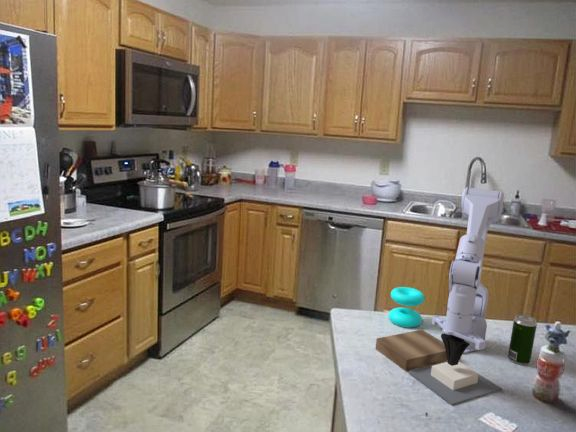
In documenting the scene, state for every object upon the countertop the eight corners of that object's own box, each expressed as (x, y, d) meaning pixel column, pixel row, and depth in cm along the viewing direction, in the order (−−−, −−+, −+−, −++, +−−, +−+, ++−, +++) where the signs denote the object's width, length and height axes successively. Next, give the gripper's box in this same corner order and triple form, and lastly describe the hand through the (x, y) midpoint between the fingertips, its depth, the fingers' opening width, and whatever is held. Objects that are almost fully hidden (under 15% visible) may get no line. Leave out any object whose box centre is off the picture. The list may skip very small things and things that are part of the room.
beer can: (522, 368, 118) (530, 324, 115) (503, 358, 122) (510, 316, 120) (534, 363, 121) (541, 320, 118) (514, 353, 125) (521, 312, 123)
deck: (420, 339, 130) (422, 329, 130) (452, 359, 120) (454, 348, 119) (375, 348, 123) (376, 338, 123) (405, 371, 113) (406, 359, 112)
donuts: (393, 295, 135) (389, 284, 145) (390, 327, 137) (386, 314, 147) (428, 298, 134) (421, 287, 144) (424, 330, 136) (417, 316, 146)
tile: (454, 368, 115) (455, 359, 114) (477, 382, 109) (478, 373, 108) (430, 374, 111) (431, 365, 111) (453, 390, 105) (454, 380, 104)
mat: (455, 361, 119) (456, 359, 119) (501, 389, 107) (502, 388, 107) (408, 373, 112) (408, 371, 112) (451, 405, 100) (451, 403, 100)
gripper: (425, 301, 111) (418, 352, 114) (472, 325, 99) (464, 383, 101) (446, 297, 115) (439, 347, 117) (495, 321, 102) (486, 376, 105)
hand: (452, 363), depth 110 cm, fingers closed
